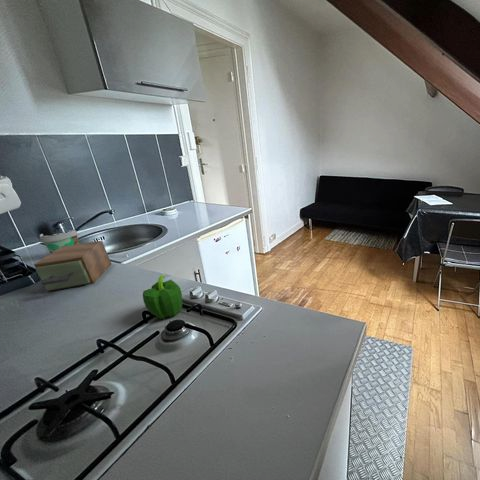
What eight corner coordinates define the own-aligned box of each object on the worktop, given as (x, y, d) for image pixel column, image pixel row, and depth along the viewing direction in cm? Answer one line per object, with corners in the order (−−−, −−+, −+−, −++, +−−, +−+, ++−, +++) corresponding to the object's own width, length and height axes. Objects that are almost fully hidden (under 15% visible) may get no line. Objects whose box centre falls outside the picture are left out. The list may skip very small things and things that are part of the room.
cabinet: (93, 283, 85) (81, 256, 81) (48, 291, 82) (33, 264, 78) (111, 264, 98) (102, 240, 94) (73, 270, 95) (61, 246, 91)
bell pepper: (171, 325, 63) (159, 290, 59) (143, 322, 65) (130, 288, 61) (193, 304, 71) (184, 272, 67) (168, 301, 73) (157, 270, 69)
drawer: (82, 290, 79) (71, 267, 76) (38, 298, 77) (25, 275, 74) (106, 264, 95) (98, 245, 92) (70, 270, 92) (61, 251, 89)
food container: (41, 262, 103) (29, 239, 99) (51, 256, 108) (40, 233, 105) (78, 257, 106) (67, 234, 102) (86, 251, 111) (76, 229, 107)
